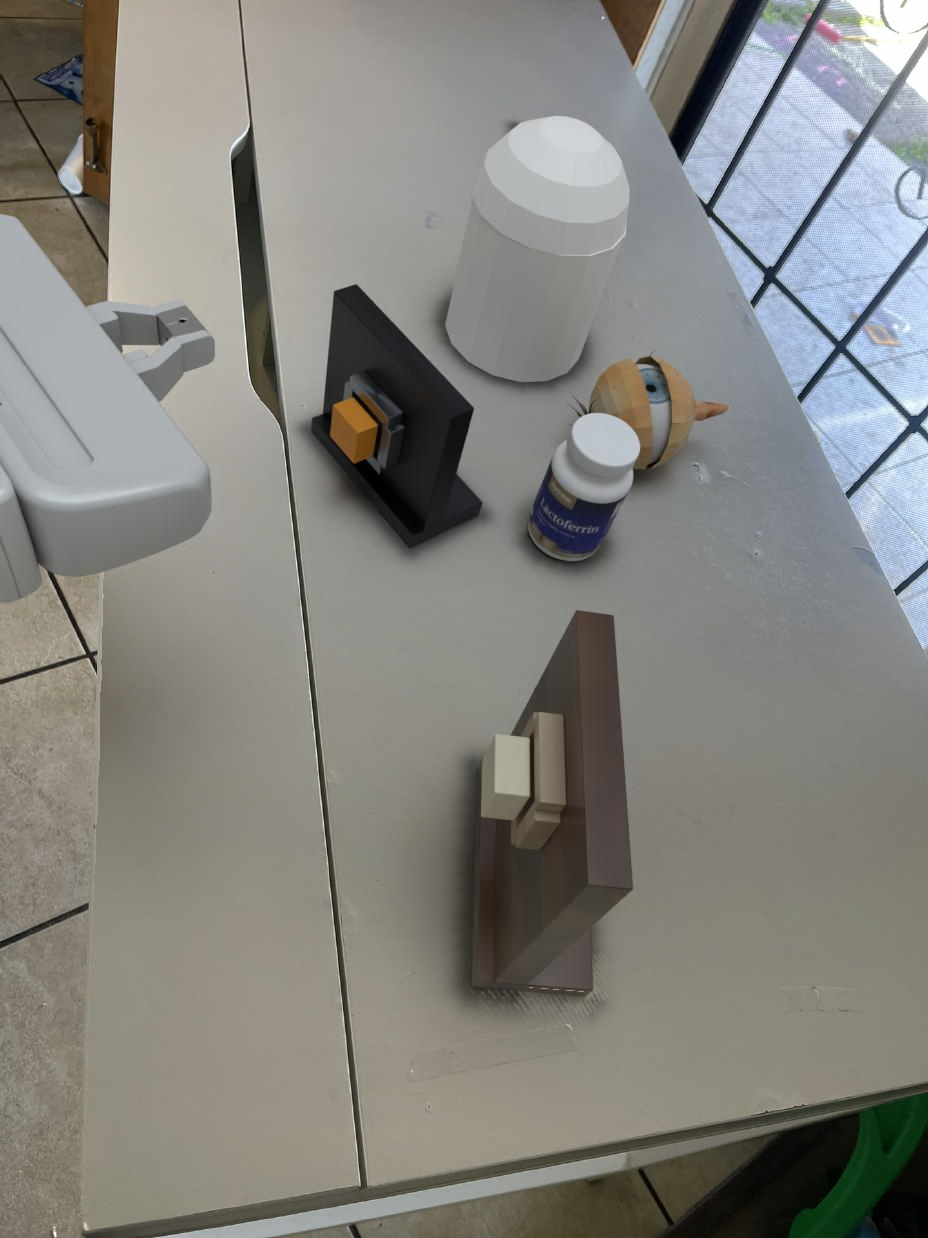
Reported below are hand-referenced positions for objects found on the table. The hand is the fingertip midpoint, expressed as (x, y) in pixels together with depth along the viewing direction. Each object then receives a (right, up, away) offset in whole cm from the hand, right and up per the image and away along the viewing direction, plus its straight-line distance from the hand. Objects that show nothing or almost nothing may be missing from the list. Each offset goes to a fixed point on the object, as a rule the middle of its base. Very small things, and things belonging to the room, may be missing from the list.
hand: (200, 330), depth 45 cm
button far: (+5, -1, +23) cm, 24 cm away
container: (+18, +13, +42) cm, 48 cm away
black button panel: (+7, -2, +30) cm, 31 cm away
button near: (+15, -23, +2) cm, 28 cm away
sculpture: (+28, +1, +37) cm, 46 cm away
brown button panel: (+17, -31, +13) cm, 37 cm away
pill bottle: (+21, -7, +30) cm, 37 cm away
